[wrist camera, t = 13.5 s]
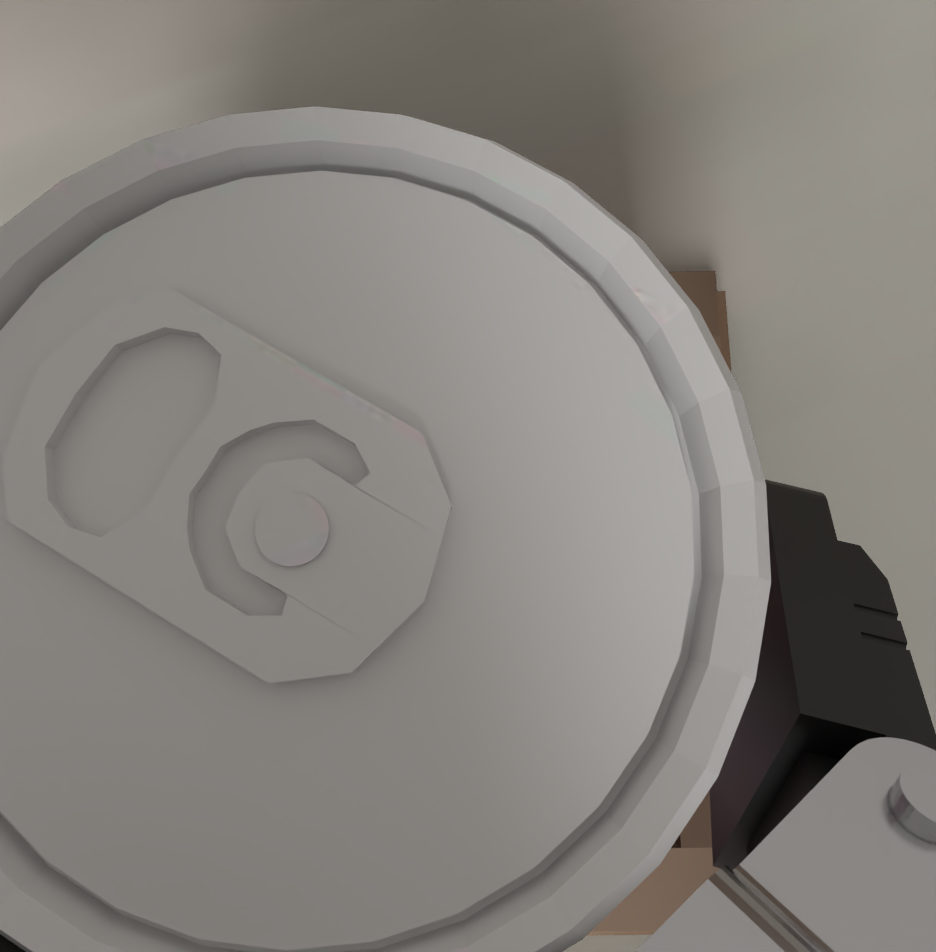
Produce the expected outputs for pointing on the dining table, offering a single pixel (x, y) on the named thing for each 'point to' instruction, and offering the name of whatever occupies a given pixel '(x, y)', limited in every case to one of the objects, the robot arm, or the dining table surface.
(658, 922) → the can socket
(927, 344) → the dining table surface
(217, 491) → the beverage can
